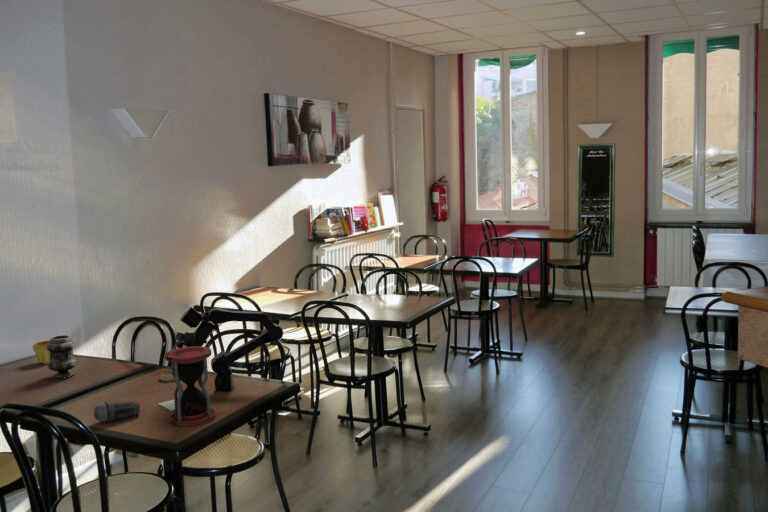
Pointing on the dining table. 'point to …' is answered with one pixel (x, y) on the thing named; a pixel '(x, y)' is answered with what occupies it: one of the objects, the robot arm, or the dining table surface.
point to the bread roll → (167, 376)
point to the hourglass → (190, 386)
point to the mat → (168, 405)
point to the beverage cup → (115, 411)
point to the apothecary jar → (61, 355)
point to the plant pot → (42, 351)
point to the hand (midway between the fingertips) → (178, 367)
